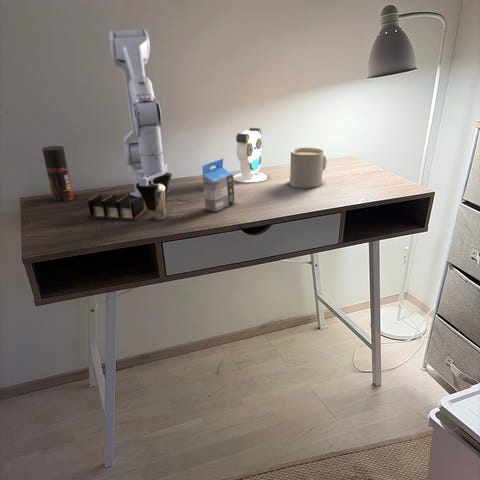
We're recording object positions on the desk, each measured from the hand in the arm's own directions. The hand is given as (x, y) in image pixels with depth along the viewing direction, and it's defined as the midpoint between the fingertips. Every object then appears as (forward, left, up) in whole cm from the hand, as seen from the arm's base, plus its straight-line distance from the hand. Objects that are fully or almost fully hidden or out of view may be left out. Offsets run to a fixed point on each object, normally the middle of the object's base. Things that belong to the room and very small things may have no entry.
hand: (157, 205), depth 136 cm
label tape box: (-17, +6, -4) cm, 18 cm away
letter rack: (+6, -10, -3) cm, 12 cm away
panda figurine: (-44, -8, -4) cm, 45 cm away
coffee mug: (-52, +11, -4) cm, 53 cm away
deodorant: (+8, -37, -4) cm, 38 cm away
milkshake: (0, 0, -4) cm, 4 cm away
